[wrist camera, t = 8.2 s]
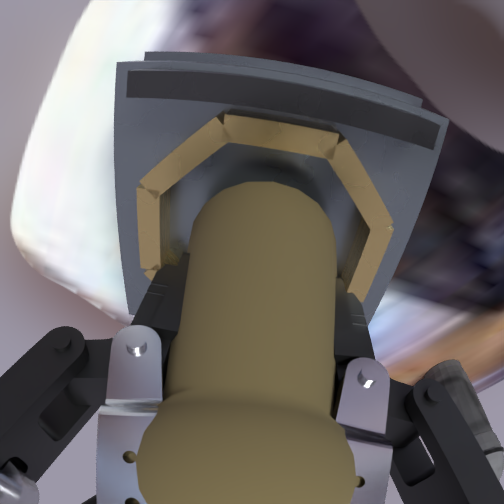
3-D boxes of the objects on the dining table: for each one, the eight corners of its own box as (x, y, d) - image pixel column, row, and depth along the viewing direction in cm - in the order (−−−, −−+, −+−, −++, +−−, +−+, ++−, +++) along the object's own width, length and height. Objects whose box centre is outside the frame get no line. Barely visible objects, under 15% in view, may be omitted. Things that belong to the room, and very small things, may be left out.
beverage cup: (456, 386, 29) (490, 534, 13) (403, 395, 30) (428, 559, 13) (481, 346, 25) (535, 516, 9) (424, 355, 26) (467, 551, 9)
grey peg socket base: (417, 97, 15) (485, 123, 9) (348, 301, 23) (364, 379, 17) (150, 52, 14) (82, 53, 8) (147, 270, 23) (111, 341, 17)
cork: (291, 321, 15) (287, 559, 6) (172, 274, 14) (84, 521, 5) (364, 223, 12) (456, 530, 3) (221, 154, 11) (61, 512, 2)
